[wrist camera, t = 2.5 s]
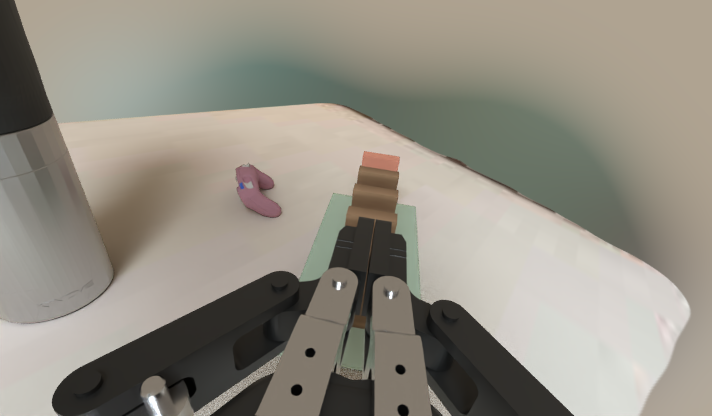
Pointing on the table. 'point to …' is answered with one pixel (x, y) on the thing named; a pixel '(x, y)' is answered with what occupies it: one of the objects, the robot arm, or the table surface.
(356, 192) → the domino
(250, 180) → the video game controller
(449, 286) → the table surface
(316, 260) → the felt mat
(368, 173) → the domino
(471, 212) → the table surface
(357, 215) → the domino
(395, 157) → the domino
